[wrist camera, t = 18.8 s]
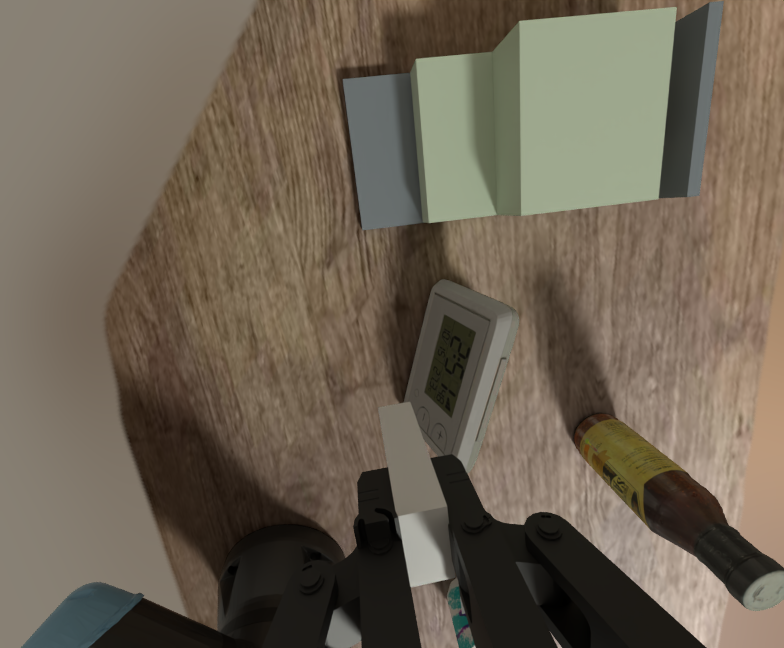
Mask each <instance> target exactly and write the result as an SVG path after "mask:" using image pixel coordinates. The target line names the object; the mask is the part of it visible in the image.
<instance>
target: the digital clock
mask: <svg viewBox="0 0 784 648" xmlns="http://www.w3.org/2000/svg"><path fill="white" fill-rule="evenodd" d="M518 326H519V316H518V314H517V312H516V310H515V309H513V308H512V307H510V306H508V305H506V304H504V303H502V302H500V301H497V300H495V299H493V298H490V297H488V296H486V295H483V294H481V293H478V292H476V291H474V290H471V289H469V288H466V287H464V286H462V285H459V284H457V283H454V282H452V281H449V280H445V279H442V280H440V281H439V282H438V283H436V284H435V285H434V286H433V288H432V290H431V293H430V297H429V301H428V305H427V309H426V312H425V317H424V321H423V325H422V329H421V333H420V337H419V341H418V345H417V349H416V353H415V358H414V362H413V366H412V370H411V374H410V378H409V382H408V386H407V390H406V395H405V399H404V403H405V402H411V405H412V408H413V411H414V414H415V416H416V419H417V422H418V425H419V428H420V431H421V433H422V436H423V439H424V440H425V442H426V443H427V444H428V445H429V446H430V447H431V449H432V450H433V451H434V452H435V453H436V454H437V456H438V457H439V456H444V455H449V454H453V455H454V456H455V457H457V458H458V459H459V460H460V461H461V462H462V464H463V466H464V468H465V470H466V472H467V473H469V472H470V471H471V469H472V468H473V466H474V464H475V462H476V460H477V457H478V454H479V451H480V448H481V445H482V442H483V439H484V435H485V432H486V429H487V426H488V423H489V420H490V416H491V413H492V410H493V407H494V404H495V401H496V397H497V394H498V391H499V388H500V385H501V382H502V378H503V375H504V372H505V369H506V366H507V363H508V359H509V356H510V353H511V350H512V346H513V343H514V340H515V336H516V333H517V330H518Z"/></svg>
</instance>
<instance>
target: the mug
mask: <svg viewBox="0 0 784 648" xmlns="http://www.w3.org/2000/svg"><path fill="white" fill-rule="evenodd" d="M447 600H448V604H449V608H450V612H451V616H452V620H453V625H454V629H455V633H456V637H457V641H458V645H459V648H476V647H475V644H474V640H473V637H472V634H471V630H470V627H469V624H468V620H467V617H466V614H462V609H461V600H460V592H459V583H458V579H457V578H456V579H454V580H453V581H452V582H451V584H450V587H449V590H448V593H447Z"/></svg>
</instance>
